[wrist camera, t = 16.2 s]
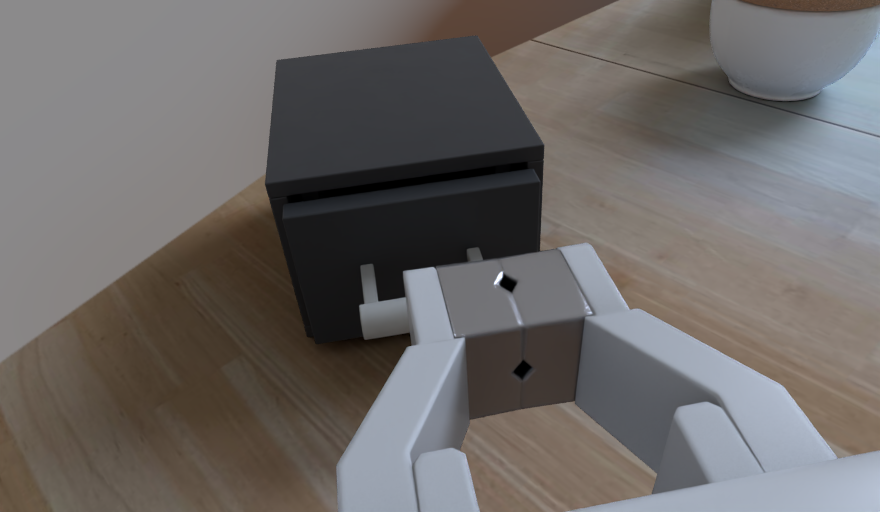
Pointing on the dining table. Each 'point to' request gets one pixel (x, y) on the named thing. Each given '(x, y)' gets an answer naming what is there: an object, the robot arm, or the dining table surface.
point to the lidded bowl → (790, 43)
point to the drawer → (401, 241)
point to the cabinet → (390, 122)
